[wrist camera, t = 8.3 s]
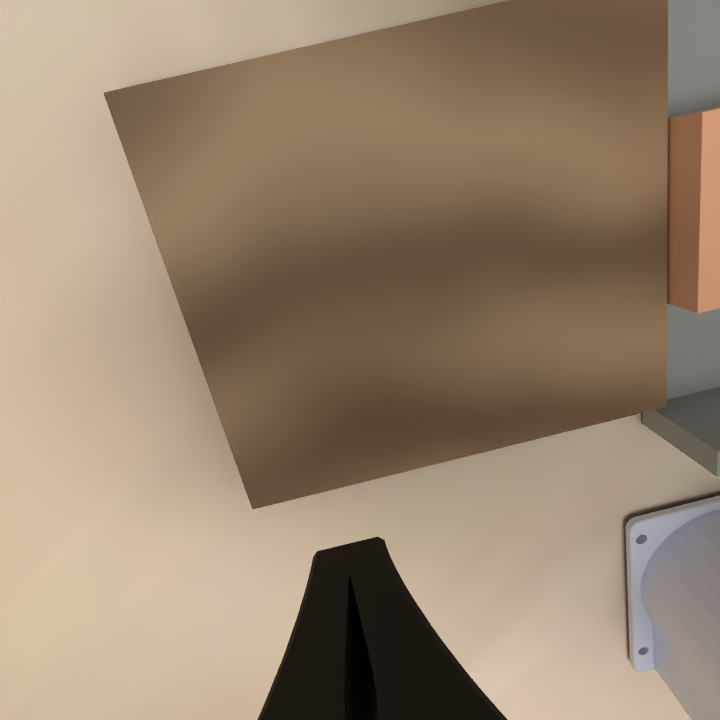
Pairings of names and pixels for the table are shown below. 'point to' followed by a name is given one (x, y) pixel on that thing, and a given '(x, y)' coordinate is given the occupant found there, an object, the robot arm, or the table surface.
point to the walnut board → (417, 235)
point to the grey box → (684, 328)
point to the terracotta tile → (694, 210)
